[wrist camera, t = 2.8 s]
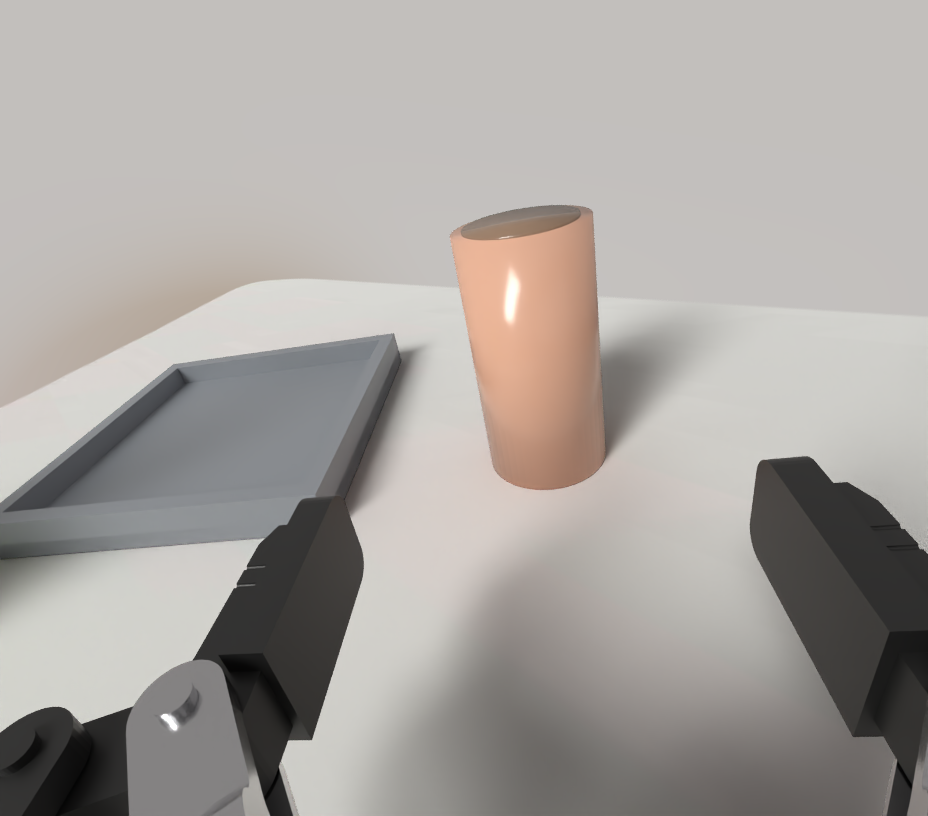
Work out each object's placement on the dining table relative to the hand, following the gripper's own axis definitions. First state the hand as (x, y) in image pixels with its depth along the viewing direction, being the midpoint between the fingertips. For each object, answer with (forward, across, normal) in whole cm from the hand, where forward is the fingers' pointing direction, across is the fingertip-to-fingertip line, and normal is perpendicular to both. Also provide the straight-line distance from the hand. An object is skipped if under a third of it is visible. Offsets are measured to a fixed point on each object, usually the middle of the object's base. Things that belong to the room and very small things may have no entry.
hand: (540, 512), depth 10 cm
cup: (+11, 0, +7) cm, 13 cm away
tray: (+15, +17, +7) cm, 24 cm away
